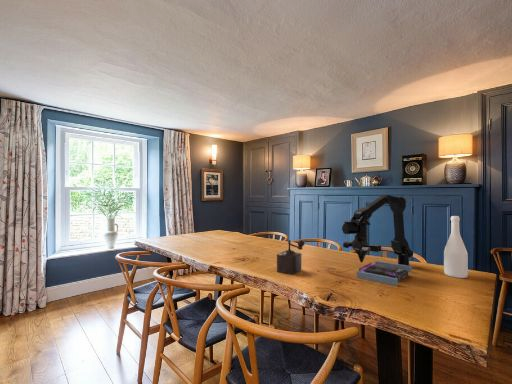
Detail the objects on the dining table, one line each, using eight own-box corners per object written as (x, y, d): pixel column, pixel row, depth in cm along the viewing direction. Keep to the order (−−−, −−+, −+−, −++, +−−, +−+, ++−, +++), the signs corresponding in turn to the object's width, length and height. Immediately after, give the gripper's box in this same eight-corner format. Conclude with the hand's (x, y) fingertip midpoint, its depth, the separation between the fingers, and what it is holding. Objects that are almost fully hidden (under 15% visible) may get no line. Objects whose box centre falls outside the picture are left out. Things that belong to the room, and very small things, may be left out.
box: (358, 274, 137) (399, 283, 123) (358, 268, 137) (398, 275, 123) (370, 269, 146) (409, 276, 132) (370, 262, 146) (408, 269, 132)
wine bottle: (446, 271, 139) (445, 215, 139) (469, 275, 132) (468, 216, 132) (442, 275, 132) (441, 216, 132) (466, 280, 125) (465, 217, 126)
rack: (375, 265, 150) (375, 260, 150) (411, 272, 138) (411, 266, 138) (357, 277, 129) (356, 271, 129) (397, 286, 117) (397, 279, 117)
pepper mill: (275, 272, 139) (275, 238, 139) (284, 267, 148) (284, 235, 148) (303, 277, 130) (302, 241, 130) (311, 271, 140) (310, 237, 140)
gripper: (338, 233, 142) (338, 262, 142) (374, 237, 130) (374, 268, 130) (347, 231, 151) (347, 258, 150) (381, 234, 138) (381, 264, 138)
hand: (361, 262), depth 142 cm, fingers closed
